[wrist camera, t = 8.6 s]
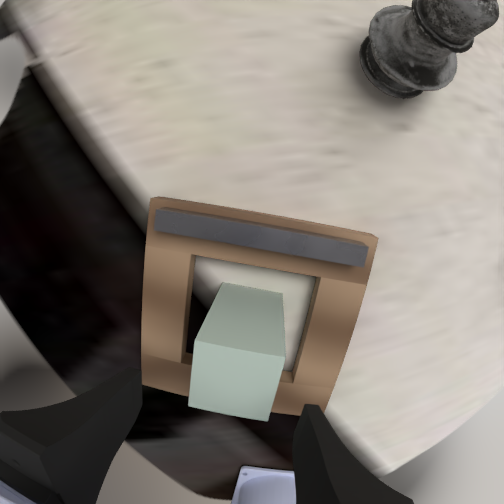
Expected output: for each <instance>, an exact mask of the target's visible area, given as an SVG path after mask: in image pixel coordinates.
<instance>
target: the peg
mask: <svg viewBox="0 0 504 504" xmlns="http://www.w3.org/2000/svg"><path fill="white" fill-rule="evenodd" d="M285 358H286V351H285V330H284V311H283V293H278V292H272V291H267V290H261V289H256V288H250V287H245V286H240V285H235V284H230V283H224V282H223V283H222V285H221V287H220V289H219V291H218V294H217V296H216V298H215V300H214V302H213V304H212V306H211V308H210V310H209V312H208V314H207V316H206V318H205V320H204V322H203V324H202V326H201V328H200V330H199V332H198V335H197V337H196V339H195V343H194V352H193V362H192V371H191V381H190V392H189V403H188V406H190V407H195V408H199V409H203V410H208V411H213V412H217V413H222V414H227V415H233V416H238V417H244V418H250V419H256V420H262V421H268V418H269V415H270V411H271V408H272V405H273V401H274V398H275V394H276V391H277V387H278V384H279V380H280V377H281V373H282V369H283V366H284V362H285Z"/></svg>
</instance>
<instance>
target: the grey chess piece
mask: <svg viewBox="0 0 504 504" xmlns="http://www.w3.org/2000/svg"><path fill="white" fill-rule="evenodd" d="M498 17H499V6H498V3H497V0H413V1H412V7H408V6H403V5H393V6H389V7H385V8H383V9H382V10H380V11H379V12H377V13H376V14H375V16H374V17H373V19H372V20H371V23H370V28H369V36H367V37H366V38H365V40H364V42H363V43H362V45H361V49H360V62H361V65H362V68H363V71H364V72H365V74H366V76H367V77H368V79H369V80H370V81H371V82H372V83H373V84H374V85H375V86H376V87H377V88H378V89H380V90H381V91H383V92H384V93H386V94H388V95H391V96H393V97H397V98H403V99H405V98H413V97H415V96H417V95H419V94H421V93H422V92H423V91H434V90H439V89H441V88H443V87H446V86H447V85H448V84H449V83H450V82H451V81H452V80H453V78H454V76H455V73H456V69H457V57H456V53H462V52H465V51H468V50H469V49H470V48H471V47H472V45H473V42H474V37H475V36H476V35H478V34H480V33H481V32H483V31H484V30H486V29H488V28H489V27H491V26H492V25H494V24H495V23H496V21H497V20H498Z"/></svg>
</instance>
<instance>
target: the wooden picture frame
mask: <svg viewBox="0 0 504 504" xmlns="http://www.w3.org/2000/svg"><path fill="white" fill-rule="evenodd" d="M163 207H169V208H175V209H182V210H188V211H194V212H201V213H207V214H213V215H219V216H225V217H231V218H237V219H243V220H248V221H254V222H260V223H266V224H271V225H277V226H282V227H288V228H293V229H299V230H304V231H310V232H315V233H320V234H326V235H331V236H336V237H341V238H346V239H351V240H356V241H361V242H363V243H364V244H366V245H367V246H368V247H369V249H368V253H367V257H366V261H365V265H364V267H358V266H352V265H347V264H341V263H336V262H330V261H325V260H319V259H314V258H308V257H302V256H297V255H291V254H286V253H280V252H274V251H269V250H263V249H258V248H252V247H246V246H241V245H235V244H229V243H224V242H218V241H212V240H207V239H201V238H195V237H190V236H184V235H178V234H172V233H167V232H161V231H155V230H154V223H155V214H156V209H159V208H163ZM377 242H378V238H377V237H376V236H374V235H372V234H369V233H365V232H360V231H355V230H350V229H345V228H340V227H335V226H330V225H325V224H320V223H314V222H309V221H304V220H298V219H293V218H288V217H282V216H276V215H271V214H265V213H259V212H254V211H248V210H242V209H236V208H230V207H224V206H218V205H211V204H205V203H199V202H192V201H186V200H179V199H172V198H165V197H154V198H151V199H150V208H149V217H148V227H147V238H146V249H145V263H144V278H143V298H142V333H141V371H142V384H143V385H146V386H150V387H153V388H157V389H161V390H164V391H168V392H172V393H176V394H180V395H184V396H189V392H190V381H191V371H192V362H193V354H191V353H186V345H187V334H188V323H189V312H190V303H191V293H192V284H193V275H194V267H195V258H196V255H199V256H204V257H210V258H215V259H221V260H226V261H232V262H237V263H243V264H248V265H254V266H260V267H265V268H271V269H277V270H282V271H288V272H294V273H299V274H305V275H311V276H317V277H316V281H315V286H314V290H313V294H312V298H311V302H310V306H309V311H308V315H307V319H306V322H305V326H304V330H303V334H302V338H301V342H300V345H299V349H298V353H297V357H296V360H295V364H294V367H293V371H292V372H289V371H282V373H281V377H280V380H279V384H278V387H277V391H276V394H275V398H274V401H273V405H272V408H271V411H270V412H276V413H283V414H292V415H301V413H302V410H303V407H304V405H305V404H314V405H319V406H320V408H321V410H322V411H323V413H324V411H325V409H326V406H327V404H328V401H329V399H330V396H331V394H332V391H333V388H334V386H335V383H336V380H337V377H338V375H339V372H340V369H341V366H342V363H343V361H344V358H345V355H346V352H347V349H348V346H349V343H350V340H351V337H352V333H353V330H354V327H355V324H356V321H357V317H358V314H359V311H360V307H361V304H362V300H363V297H364V293H365V290H366V286H367V282H368V279H369V275H370V271H371V267H372V263H373V259H374V255H375V251H376V247H377Z"/></svg>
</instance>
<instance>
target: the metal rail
mask: <svg viewBox="0 0 504 504" xmlns="http://www.w3.org/2000/svg"><path fill="white" fill-rule="evenodd" d="M154 230H155V231H161V232H167V233H172V234H178V235H184V236H190V237H195V238H201V239H207V240H212V241H218V242H224V243H229V244H235V245H241V246H246V247H252V248H258V249H263V250H269V251H274V252H280V253H286V254H291V255H297V256H302V257H308V258H314V259H319V260H325V261H330V262H336V263H341V264H347V265H352V266H358V267H364V265H365V261H366V257H367V253H368V249H369V247H368V246H367V245H366V244H364V243H363V242H361V241H356V240H351V239H346V238H341V237H336V236H331V235H326V234H320V233H315V232H310V231H304V230H299V229H293V228H288V227H282V226H277V225H271V224H266V223H260V222H254V221H248V220H243V219H237V218H231V217H225V216H219V215H213V214H207V213H201V212H194V211H188V210H182V209H175V208H169V207H163V208H159V209H156V214H155V223H154Z"/></svg>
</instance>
